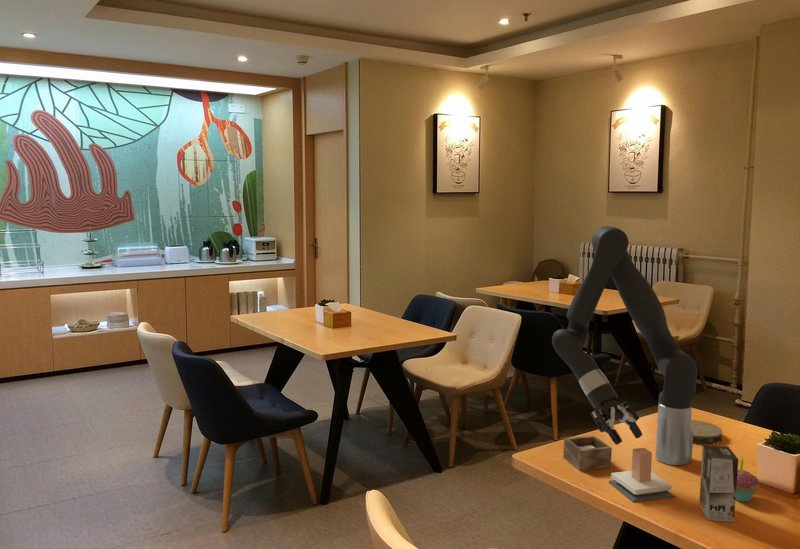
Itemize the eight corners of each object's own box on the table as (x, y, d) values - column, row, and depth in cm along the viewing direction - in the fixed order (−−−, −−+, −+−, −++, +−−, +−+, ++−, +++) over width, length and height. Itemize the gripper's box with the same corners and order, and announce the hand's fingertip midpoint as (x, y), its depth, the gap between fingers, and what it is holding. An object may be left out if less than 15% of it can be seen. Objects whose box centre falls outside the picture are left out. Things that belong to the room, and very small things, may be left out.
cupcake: (756, 507, 172) (759, 463, 171) (720, 499, 177) (723, 455, 175) (759, 495, 180) (762, 451, 178) (724, 487, 184) (727, 445, 183)
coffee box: (735, 523, 165) (739, 459, 163) (706, 520, 166) (710, 457, 164) (725, 505, 173) (729, 445, 171) (698, 503, 175) (702, 443, 173)
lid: (645, 477, 189) (647, 441, 188) (671, 494, 179) (673, 456, 177) (611, 481, 186) (612, 445, 185) (634, 499, 176) (636, 460, 175)
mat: (647, 478, 190) (647, 476, 190) (673, 497, 178) (674, 495, 178) (608, 482, 187) (608, 480, 187) (633, 502, 175) (633, 499, 175)
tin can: (687, 424, 234) (687, 416, 234) (731, 438, 221) (732, 430, 220) (659, 433, 225) (659, 425, 225) (703, 449, 212) (703, 439, 212)
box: (593, 454, 207) (594, 435, 206) (610, 467, 197) (611, 447, 196) (563, 457, 204) (564, 438, 204) (579, 470, 195) (580, 450, 194)
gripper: (588, 386, 186) (621, 439, 178) (622, 378, 194) (654, 428, 186) (573, 400, 191) (604, 452, 183) (606, 391, 199) (637, 441, 191)
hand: (629, 440), depth 184 cm, fingers open, 8 cm apart
